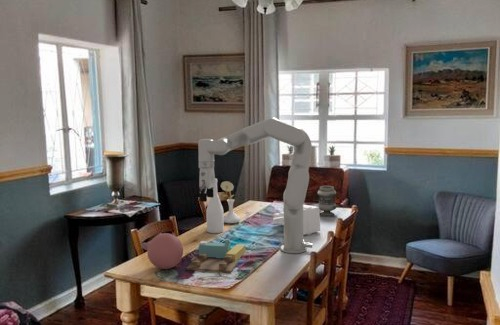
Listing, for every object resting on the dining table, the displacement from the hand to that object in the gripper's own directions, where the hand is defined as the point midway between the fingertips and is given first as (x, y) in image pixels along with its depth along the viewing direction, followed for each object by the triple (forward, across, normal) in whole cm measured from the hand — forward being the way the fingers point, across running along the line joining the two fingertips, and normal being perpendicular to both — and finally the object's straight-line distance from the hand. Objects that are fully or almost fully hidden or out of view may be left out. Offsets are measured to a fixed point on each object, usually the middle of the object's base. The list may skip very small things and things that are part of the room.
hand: (206, 199), depth 219 cm
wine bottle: (+25, +29, +6) cm, 39 cm away
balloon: (+26, -28, +12) cm, 39 cm away
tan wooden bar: (+25, -8, -17) cm, 31 cm away
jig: (+25, -22, -10) cm, 35 cm away
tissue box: (+25, +42, -37) cm, 61 cm away
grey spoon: (+25, +49, +3) cm, 56 cm away
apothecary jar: (+24, +79, -52) cm, 97 cm away
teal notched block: (+25, -9, -7) cm, 28 cm away
